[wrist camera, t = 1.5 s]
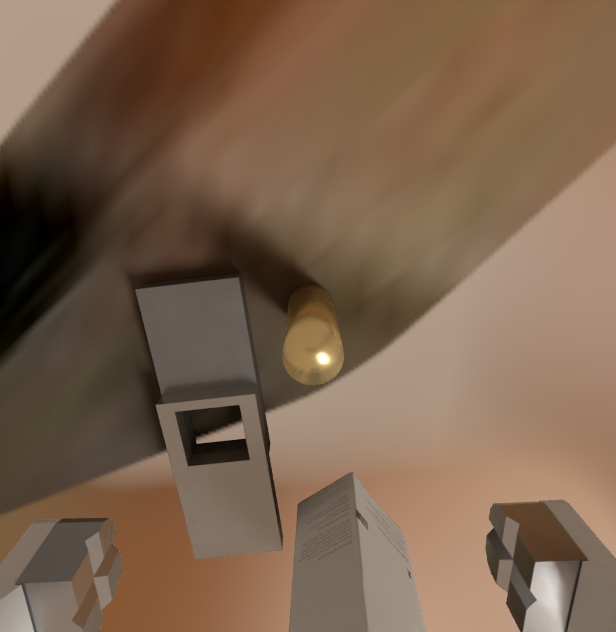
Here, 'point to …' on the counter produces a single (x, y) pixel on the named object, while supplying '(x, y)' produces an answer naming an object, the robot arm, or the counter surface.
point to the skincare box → (351, 566)
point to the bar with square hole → (209, 392)
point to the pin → (312, 337)
